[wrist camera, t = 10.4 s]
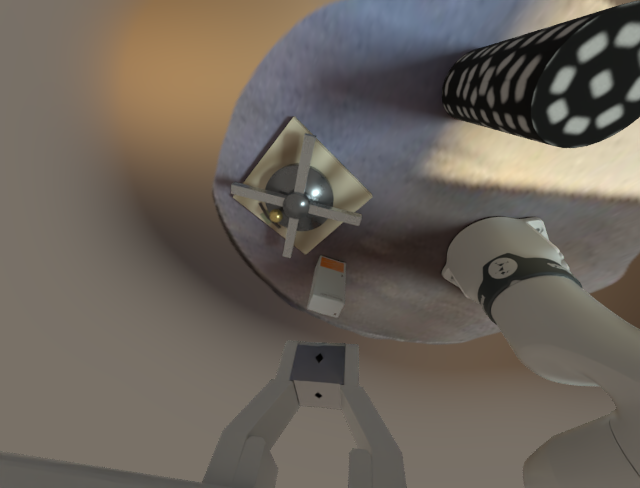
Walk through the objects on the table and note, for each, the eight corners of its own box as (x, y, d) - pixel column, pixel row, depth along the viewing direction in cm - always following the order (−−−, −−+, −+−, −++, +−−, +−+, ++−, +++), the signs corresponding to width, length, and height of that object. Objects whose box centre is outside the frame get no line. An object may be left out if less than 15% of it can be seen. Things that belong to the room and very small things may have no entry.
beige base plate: (371, 194, 43) (372, 197, 42) (306, 251, 51) (305, 255, 50) (294, 116, 37) (292, 117, 36) (235, 194, 46) (232, 197, 44)
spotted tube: (517, 90, 33) (691, 92, 16) (457, 132, 36) (549, 169, 20) (494, 30, 30) (677, -44, 13) (431, 82, 33) (513, 75, 17)
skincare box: (346, 262, 52) (346, 304, 42) (339, 276, 54) (338, 319, 44) (319, 253, 51) (312, 294, 41) (314, 268, 53) (306, 310, 43)
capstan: (314, 126, 37) (310, 130, 33) (363, 213, 44) (365, 224, 40) (235, 180, 43) (224, 189, 39) (289, 250, 49) (285, 262, 46)
